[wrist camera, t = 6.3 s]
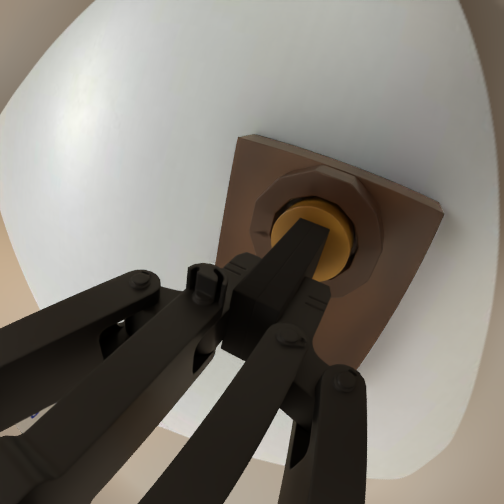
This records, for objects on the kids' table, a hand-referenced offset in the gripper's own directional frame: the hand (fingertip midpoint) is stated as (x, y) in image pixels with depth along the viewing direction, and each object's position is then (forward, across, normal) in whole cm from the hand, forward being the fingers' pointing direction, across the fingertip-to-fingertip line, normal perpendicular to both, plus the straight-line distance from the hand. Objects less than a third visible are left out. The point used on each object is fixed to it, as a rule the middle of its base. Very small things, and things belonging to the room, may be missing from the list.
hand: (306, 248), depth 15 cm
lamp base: (+5, 0, -4) cm, 6 cm away
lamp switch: (+2, 0, 0) cm, 2 cm away
